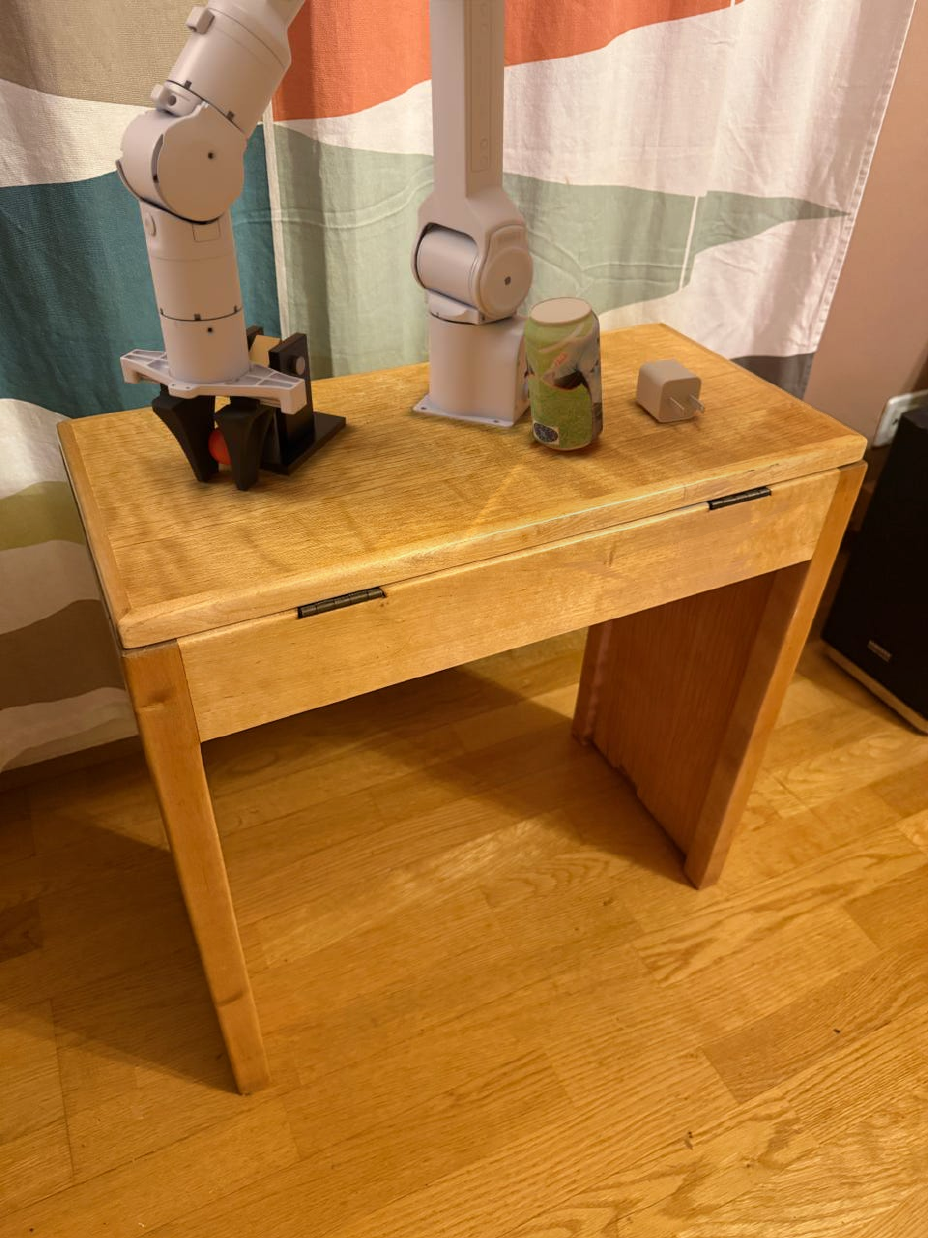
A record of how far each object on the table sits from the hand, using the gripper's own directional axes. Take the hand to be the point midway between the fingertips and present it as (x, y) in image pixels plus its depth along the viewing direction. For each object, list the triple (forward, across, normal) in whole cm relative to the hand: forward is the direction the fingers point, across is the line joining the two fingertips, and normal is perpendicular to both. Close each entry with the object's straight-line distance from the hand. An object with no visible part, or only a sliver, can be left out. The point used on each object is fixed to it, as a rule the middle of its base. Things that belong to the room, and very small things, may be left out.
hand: (227, 480), depth 72 cm
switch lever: (-4, 0, +5) cm, 6 cm away
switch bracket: (0, 0, +8) cm, 8 cm away
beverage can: (0, +22, +18) cm, 28 cm away
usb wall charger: (0, +30, +27) cm, 40 cm away
